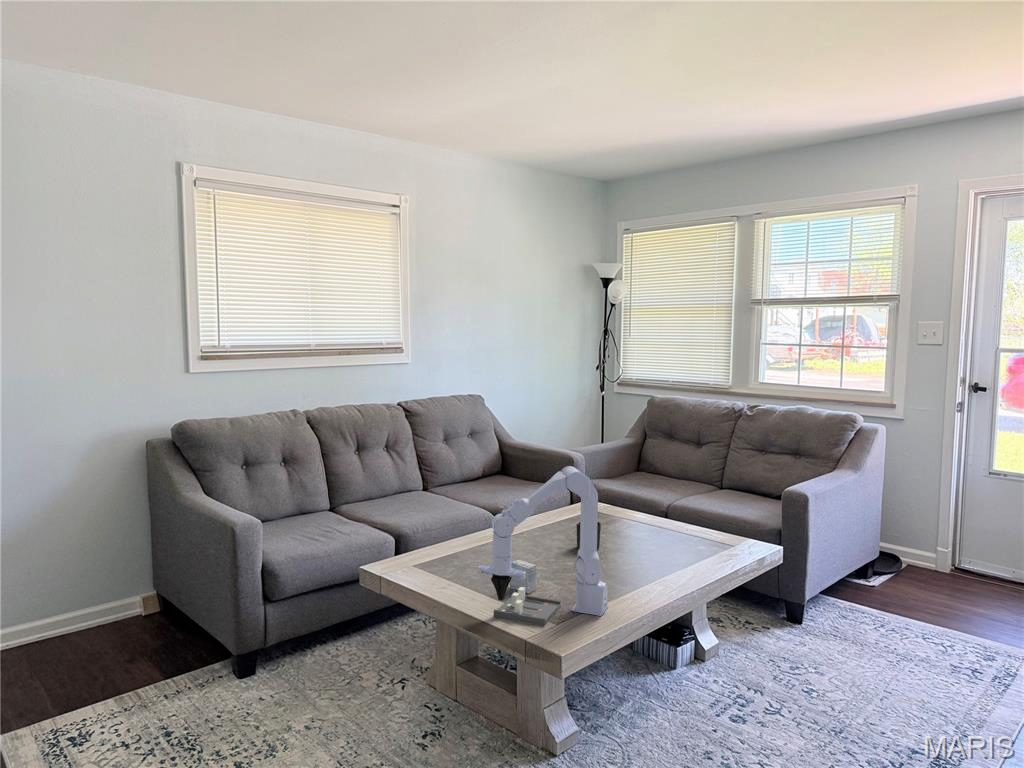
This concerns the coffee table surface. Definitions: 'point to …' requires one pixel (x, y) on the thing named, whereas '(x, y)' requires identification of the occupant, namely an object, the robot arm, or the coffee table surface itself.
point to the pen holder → (597, 535)
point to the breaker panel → (530, 610)
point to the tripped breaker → (519, 606)
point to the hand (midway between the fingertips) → (501, 599)
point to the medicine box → (530, 576)
